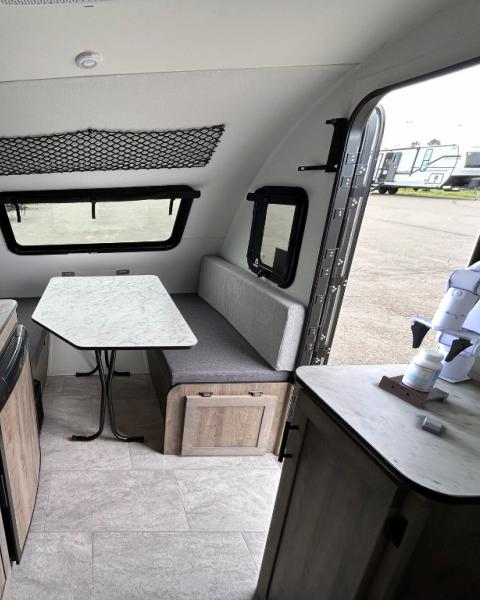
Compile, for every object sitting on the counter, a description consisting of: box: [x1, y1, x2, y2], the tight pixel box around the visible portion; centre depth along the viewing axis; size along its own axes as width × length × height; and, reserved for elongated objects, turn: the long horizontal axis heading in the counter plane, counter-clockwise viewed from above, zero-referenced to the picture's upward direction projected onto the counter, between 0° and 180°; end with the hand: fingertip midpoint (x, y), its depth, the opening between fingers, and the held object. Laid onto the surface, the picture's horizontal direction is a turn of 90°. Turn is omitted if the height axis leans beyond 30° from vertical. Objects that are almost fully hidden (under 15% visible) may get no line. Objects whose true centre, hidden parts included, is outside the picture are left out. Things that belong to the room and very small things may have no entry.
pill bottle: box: [402, 347, 445, 392], centre depth 91 cm, size 6×6×11 cm
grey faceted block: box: [420, 415, 443, 436], centre depth 81 cm, size 6×3×2 cm, turn 131°
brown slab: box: [378, 374, 450, 409], centre depth 94 cm, size 12×10×4 cm
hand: (430, 354), depth 96 cm, fingers open, 7 cm apart
